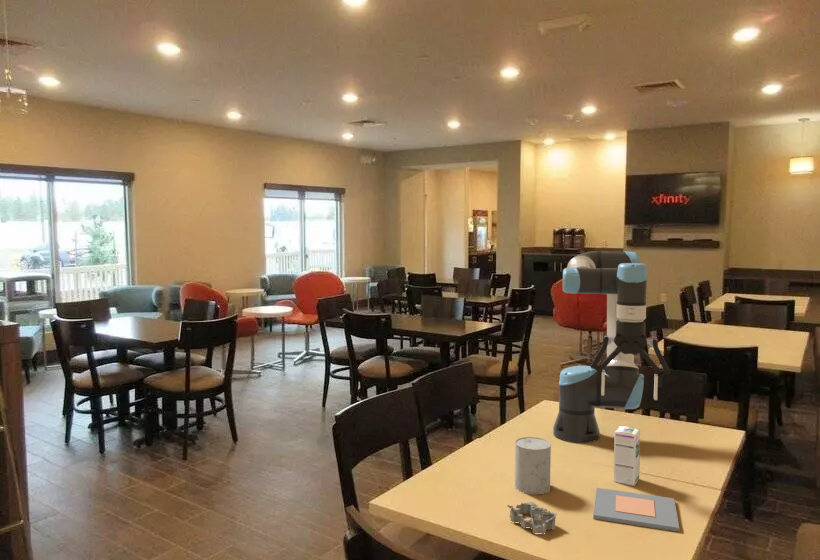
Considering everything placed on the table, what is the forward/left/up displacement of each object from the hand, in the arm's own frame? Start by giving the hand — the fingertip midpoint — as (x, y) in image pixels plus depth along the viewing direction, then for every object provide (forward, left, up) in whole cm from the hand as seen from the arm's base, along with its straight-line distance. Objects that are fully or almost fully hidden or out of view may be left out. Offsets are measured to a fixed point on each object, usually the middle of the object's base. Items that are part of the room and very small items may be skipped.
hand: (628, 396), depth 163 cm
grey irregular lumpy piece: (-21, -33, -24) cm, 46 cm away
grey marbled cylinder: (-24, -13, -24) cm, 36 cm away
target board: (+2, -18, -24) cm, 30 cm away
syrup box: (0, 0, -24) cm, 24 cm away
